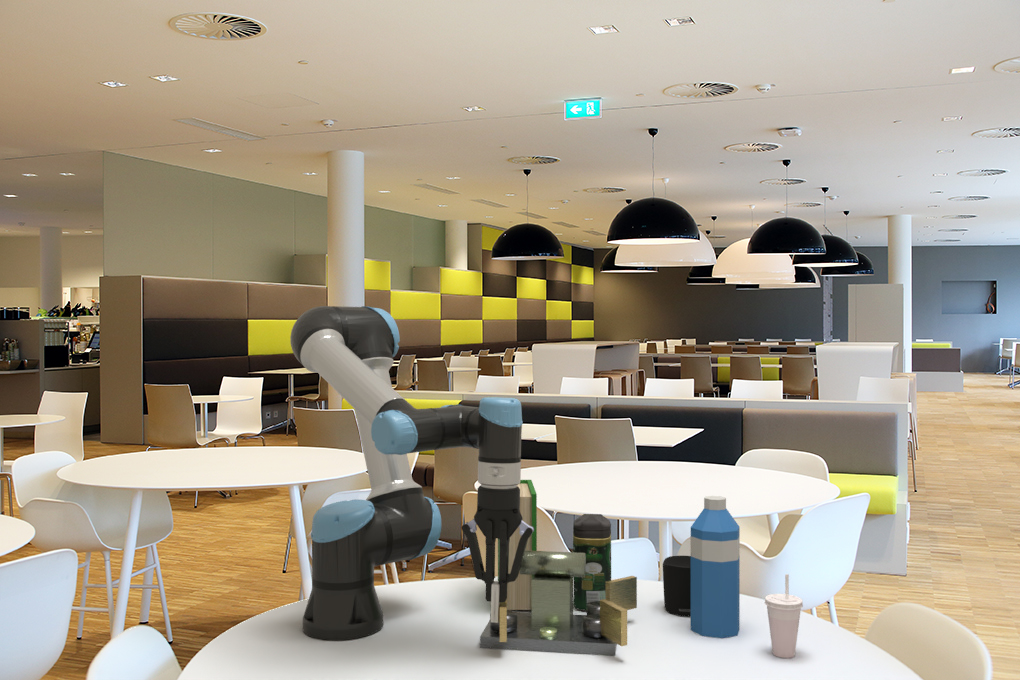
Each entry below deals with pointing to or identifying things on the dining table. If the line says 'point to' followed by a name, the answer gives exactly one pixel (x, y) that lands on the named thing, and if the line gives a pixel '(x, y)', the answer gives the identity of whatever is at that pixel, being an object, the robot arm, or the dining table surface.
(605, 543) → the coffee jar
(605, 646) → the base
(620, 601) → the knob rear
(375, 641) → the dining table surface
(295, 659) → the dining table surface
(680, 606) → the black smart speaker
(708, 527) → the water bottle
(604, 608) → the knob right
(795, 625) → the smoothie
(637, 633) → the dining table surface
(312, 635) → the robot arm
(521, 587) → the hardback book
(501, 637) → the knob left
